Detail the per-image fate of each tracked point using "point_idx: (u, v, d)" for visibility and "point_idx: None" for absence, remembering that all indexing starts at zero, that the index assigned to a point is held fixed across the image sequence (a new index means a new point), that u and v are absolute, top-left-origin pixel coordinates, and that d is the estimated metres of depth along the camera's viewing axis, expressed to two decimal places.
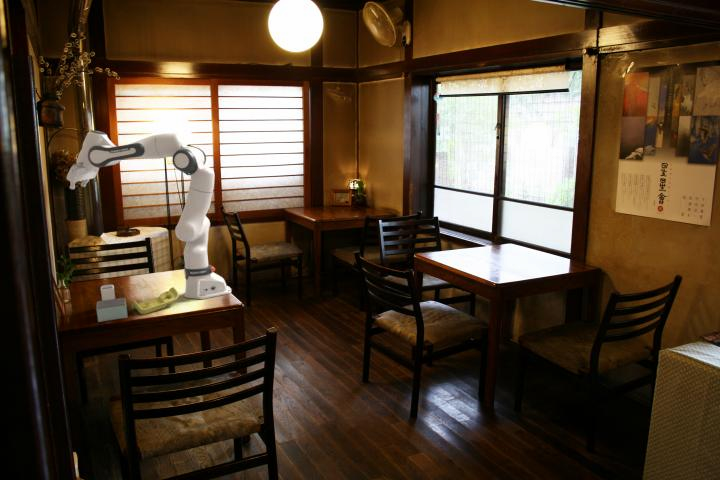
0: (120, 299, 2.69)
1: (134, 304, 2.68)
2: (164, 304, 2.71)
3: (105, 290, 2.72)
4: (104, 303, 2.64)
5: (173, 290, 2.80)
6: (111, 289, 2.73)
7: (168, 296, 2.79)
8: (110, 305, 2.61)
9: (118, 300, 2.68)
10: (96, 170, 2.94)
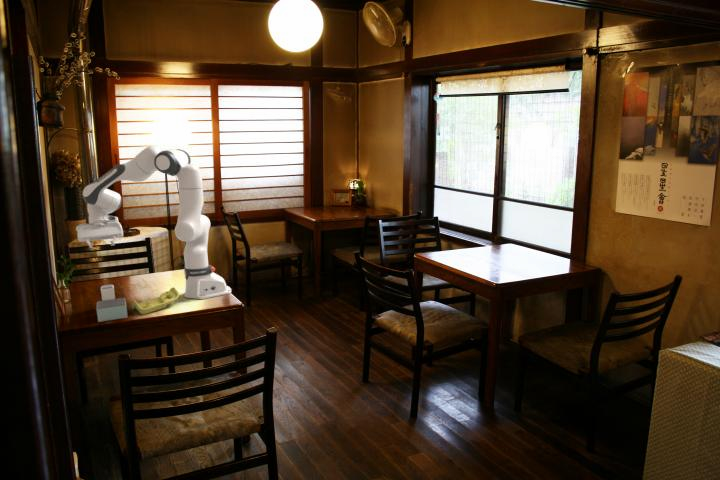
0: (120, 299, 2.69)
1: (134, 304, 2.69)
2: (164, 304, 2.71)
3: (105, 290, 2.72)
4: (104, 303, 2.64)
5: (173, 290, 2.80)
6: (111, 289, 2.73)
7: (168, 296, 2.79)
8: (110, 305, 2.61)
9: (118, 300, 2.68)
10: (117, 225, 2.89)
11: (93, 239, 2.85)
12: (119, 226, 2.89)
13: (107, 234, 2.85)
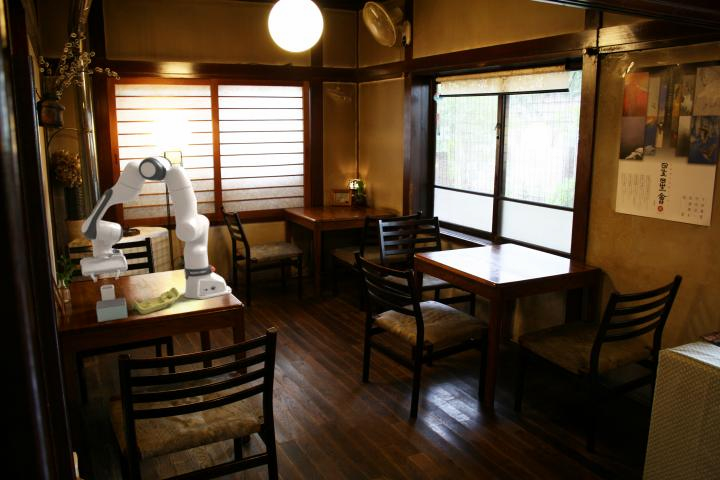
0: (120, 299, 2.69)
1: (135, 304, 2.69)
2: (164, 304, 2.72)
3: (105, 290, 2.72)
4: (104, 303, 2.64)
5: (174, 290, 2.80)
6: (111, 289, 2.73)
7: (169, 296, 2.79)
8: (110, 305, 2.61)
9: (118, 300, 2.68)
10: (121, 258, 2.88)
11: (97, 273, 2.83)
12: (123, 259, 2.88)
13: (111, 268, 2.84)
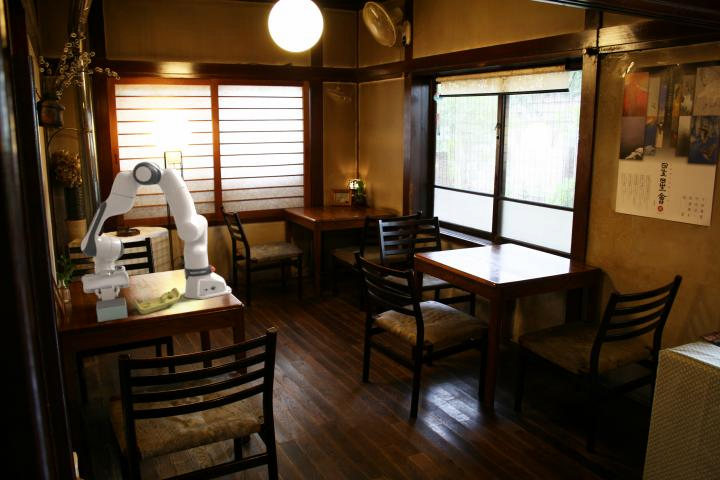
0: (120, 299, 2.69)
1: (135, 304, 2.69)
2: (165, 304, 2.71)
3: (105, 290, 2.72)
4: (104, 303, 2.64)
5: (175, 290, 2.80)
6: (111, 289, 2.73)
7: (170, 296, 2.78)
8: (110, 305, 2.61)
9: (118, 300, 2.68)
10: (124, 275, 2.82)
11: (99, 290, 2.77)
12: (126, 276, 2.81)
13: (114, 285, 2.78)
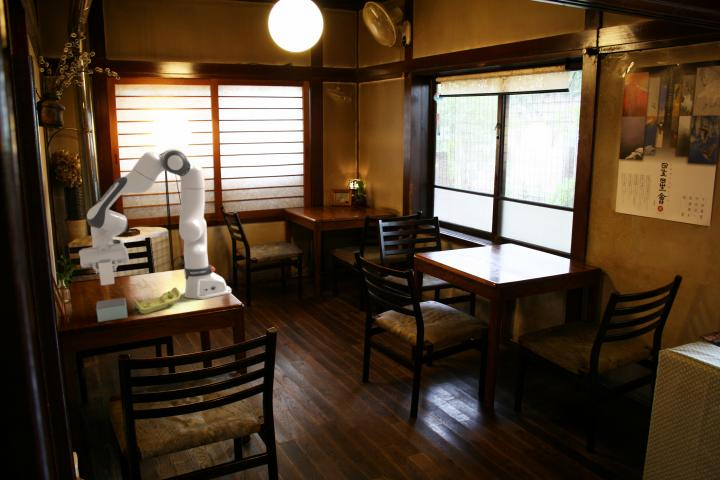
0: (120, 299, 2.69)
1: (135, 303, 2.69)
2: (165, 304, 2.71)
3: (103, 264, 2.63)
4: (104, 303, 2.64)
5: (175, 290, 2.80)
6: (109, 263, 2.64)
7: (170, 296, 2.79)
8: (110, 305, 2.61)
9: (118, 300, 2.68)
10: (122, 249, 2.72)
11: (97, 264, 2.68)
12: (124, 250, 2.72)
13: (112, 259, 2.69)
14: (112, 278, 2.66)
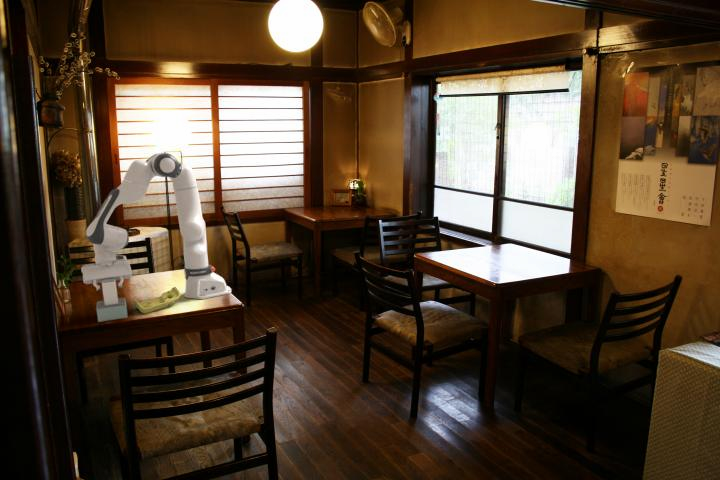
0: (120, 299, 2.69)
1: (135, 303, 2.69)
2: (165, 303, 2.72)
3: (106, 284, 2.60)
4: (104, 303, 2.64)
5: (175, 290, 2.81)
6: (113, 283, 2.61)
7: (170, 296, 2.79)
8: (110, 305, 2.61)
9: (118, 300, 2.68)
10: (125, 265, 2.69)
11: (100, 281, 2.64)
12: (127, 266, 2.69)
13: (115, 275, 2.65)
14: (116, 298, 2.62)
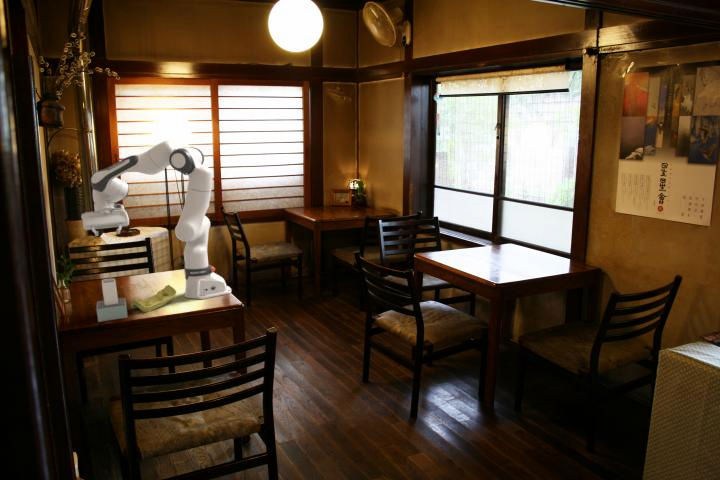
0: (120, 299, 2.69)
1: (135, 303, 2.70)
2: (165, 301, 2.76)
3: (106, 284, 2.60)
4: (104, 303, 2.64)
5: (169, 288, 2.85)
6: (113, 283, 2.61)
7: (165, 294, 2.83)
8: (110, 305, 2.61)
9: (118, 300, 2.68)
10: (123, 213, 2.85)
11: (99, 227, 2.81)
12: (125, 214, 2.85)
13: (113, 222, 2.81)
14: (116, 298, 2.62)
